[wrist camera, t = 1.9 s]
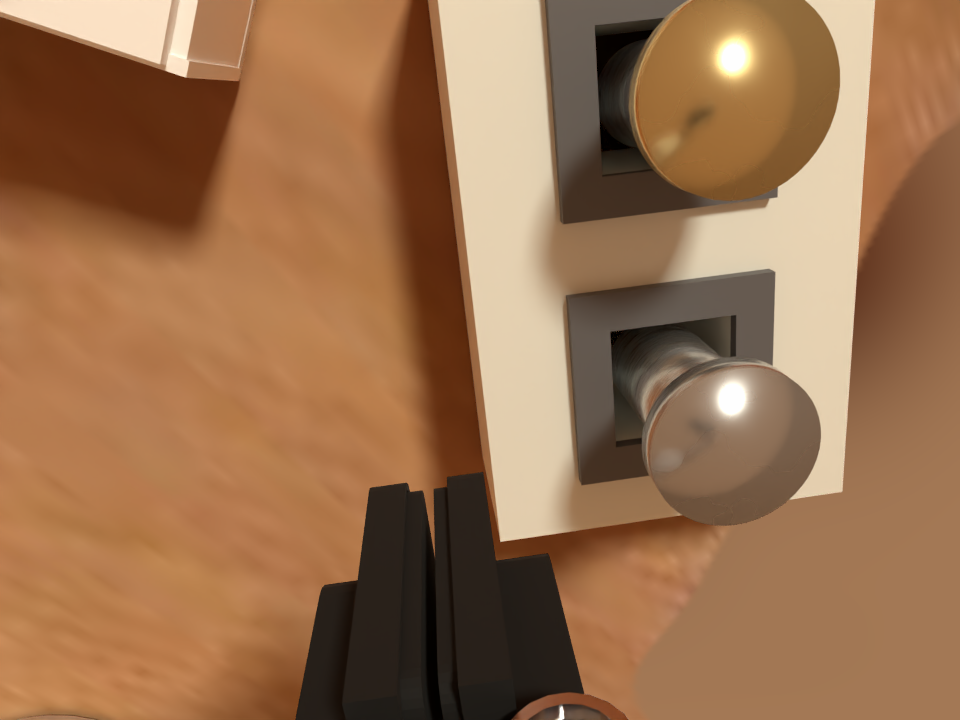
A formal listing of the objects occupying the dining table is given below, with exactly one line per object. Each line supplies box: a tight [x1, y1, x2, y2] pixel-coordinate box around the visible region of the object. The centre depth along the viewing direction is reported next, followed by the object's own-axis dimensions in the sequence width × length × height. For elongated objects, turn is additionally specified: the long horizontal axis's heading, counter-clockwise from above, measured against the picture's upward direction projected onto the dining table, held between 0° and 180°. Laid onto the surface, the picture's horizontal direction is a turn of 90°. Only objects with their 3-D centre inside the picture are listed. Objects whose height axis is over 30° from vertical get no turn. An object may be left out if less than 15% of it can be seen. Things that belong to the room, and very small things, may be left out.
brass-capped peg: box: [598, 0, 840, 201], centre depth 23 cm, size 5×5×8 cm
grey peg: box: [611, 322, 821, 526], centre depth 26 cm, size 5×5×8 cm
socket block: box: [428, 0, 875, 542], centre depth 30 cm, size 22×14×8 cm, turn 6°
